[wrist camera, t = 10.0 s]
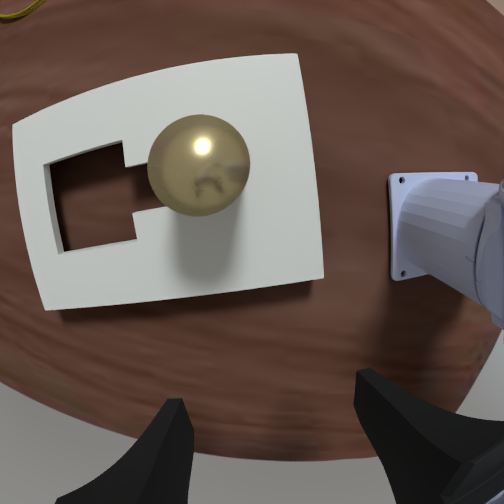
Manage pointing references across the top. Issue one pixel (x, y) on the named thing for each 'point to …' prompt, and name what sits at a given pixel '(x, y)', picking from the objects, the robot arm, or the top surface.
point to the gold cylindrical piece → (198, 165)
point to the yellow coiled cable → (23, 11)
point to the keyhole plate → (164, 219)
